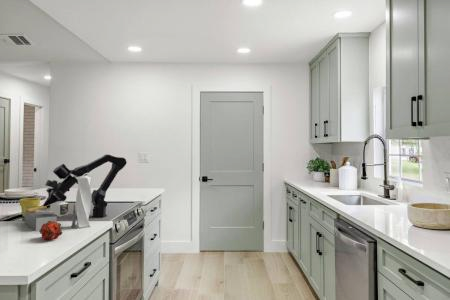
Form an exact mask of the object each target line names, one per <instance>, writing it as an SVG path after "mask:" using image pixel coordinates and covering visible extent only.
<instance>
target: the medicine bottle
mask: <svg viewBox="0 0 450 300" xmlns="http://www.w3.org/2000/svg"><path fill="white" fill-rule="evenodd" d="M59 200H60V201H58V202H55V203H52V204H50V205H49V207H50V208H49V211H53V212H55V213H54V214H56V215H57V217H63V216H66V215H69V202H66V200H65V201H62V199H59Z"/></svg>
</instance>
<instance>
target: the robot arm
mask: <svg viewBox="0 0 450 300" xmlns="http://www.w3.org/2000/svg"><path fill="white" fill-rule="evenodd" d="M108 162H109V163H111V168H110V170H109V171H108V173H107V175H105V176H106V177H105V178H104V179H103V181H102V182H101V184H100V186H99V187H98V188H97V189H94V190H93V191H92V192H91V196H92V201H91V204H92V205H93V208H92V216H91V218H104V217H107V216H108V214H106V211H107V206H108V203H107V201H105V198H106V193H107V191H108V189H109V188H110V186H111V184H112V183H113V181H114V180H115V178H116V176H117V175H118V173H119V172H120V171H121V170H122V169H123V168H124V167H125V166H126V165H127V159H126V158H125V157H119V156H113V155H111V154H104V155H102V156H101V157H98V158H97V159H95V160H93V161H91V162H90V163H87V164H85V165H81V166H77V167H75V168H73V169H69V168H68V167H67V166H66V165H65V164H64V163H61V165H59V166H57V167H56V168H54V170H53V171H52V173H54V175H56V177H58V179H59V180H62V181H61V182H60V181H59V182H58V181H57V180H56V179H54V180H50V179H47V180H46V183H45V186H47V187H48V188H47V189H46V190H45V191H46V192H47V193H48V195H47V198H46V199H45V200H44V203H43V204H42V206H50V204H52V203H55V202H58V201H60V200H59V199H62V201H65V202H66V200H67V195H65V194H66V193H67V192H70V190H71V188H72V187H73V186H75V185H78V179H77V177H79V176H83V175H84V174H85V173H91V171H93V170H95V169H97V168H99V167H101V166H102V165H104V164H106V163H108ZM84 176H88V174H85V175H84ZM79 178H80V177H79Z"/></svg>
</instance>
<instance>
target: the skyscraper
mask: <svg viewBox="0 0 450 300" xmlns="http://www.w3.org/2000/svg"><path fill="white" fill-rule="evenodd" d="M85 174H87V175H86V176H84V175H85ZM85 174H84V175H83V176H79V177H80V178H79V177H76V178H77V179H78V184H77V185H78V187H77V191H76V197H75V202H73V203H74V204H73V210H72V219H71V220H72V221H71V227H72V228H73V229H75V230H78V229H86V228H91V224H90V221H89V217H90V213H91V208H92V202H91V201H92V196H91V194H92V190H91V181H92V177H93V175H94V173H93V172H89V173H85ZM88 174H90V175H91V176H89V175H88ZM76 217H77V218H76ZM76 219H77V221H76Z"/></svg>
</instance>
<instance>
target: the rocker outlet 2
mask: <svg viewBox="0 0 450 300" xmlns="http://www.w3.org/2000/svg"><path fill="white" fill-rule="evenodd" d="M42 210H43V209H41V210H35V213H39V214H54V213H55V212H53V211H50V210H48V211H42Z"/></svg>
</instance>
